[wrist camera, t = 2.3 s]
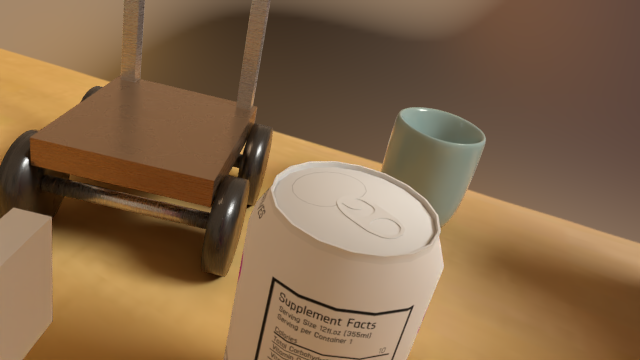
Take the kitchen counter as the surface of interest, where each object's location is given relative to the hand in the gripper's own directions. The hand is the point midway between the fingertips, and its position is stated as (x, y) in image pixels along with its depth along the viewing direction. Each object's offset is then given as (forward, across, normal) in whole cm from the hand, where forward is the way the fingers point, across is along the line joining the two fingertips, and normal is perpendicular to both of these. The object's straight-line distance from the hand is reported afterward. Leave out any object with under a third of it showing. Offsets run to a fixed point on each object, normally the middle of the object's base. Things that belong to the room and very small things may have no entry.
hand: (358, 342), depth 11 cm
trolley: (+29, -14, -18) cm, 36 cm away
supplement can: (+11, 0, -18) cm, 21 cm away
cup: (+37, +8, -18) cm, 42 cm away
